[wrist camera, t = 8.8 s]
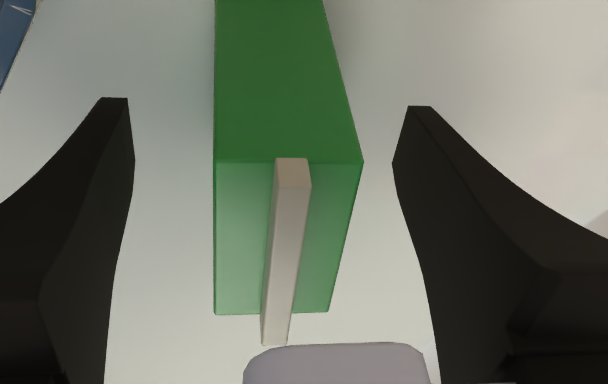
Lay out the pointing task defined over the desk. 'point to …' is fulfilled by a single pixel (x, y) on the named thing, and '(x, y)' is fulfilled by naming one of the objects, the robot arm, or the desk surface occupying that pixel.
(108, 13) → the desk surface
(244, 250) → the green rectangular block
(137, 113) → the desk surface
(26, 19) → the bowl
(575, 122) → the desk surface
